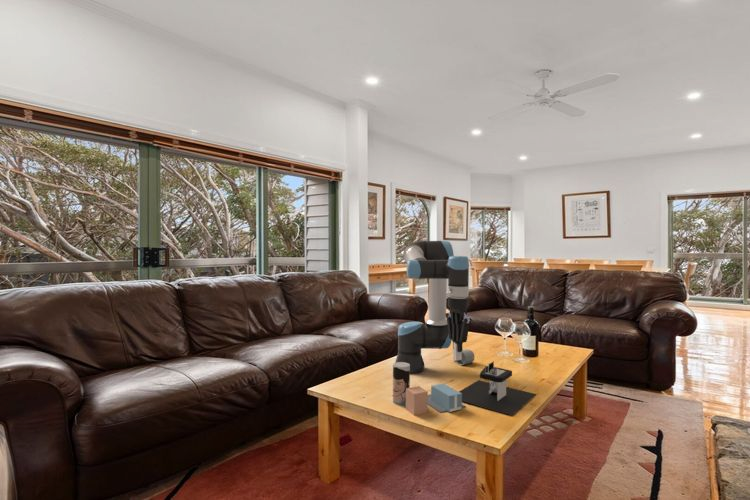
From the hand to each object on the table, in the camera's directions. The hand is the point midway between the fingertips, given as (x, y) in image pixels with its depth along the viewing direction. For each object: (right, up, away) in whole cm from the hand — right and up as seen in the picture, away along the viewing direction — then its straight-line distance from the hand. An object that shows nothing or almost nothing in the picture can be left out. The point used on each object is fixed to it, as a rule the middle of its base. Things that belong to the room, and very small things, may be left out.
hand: (457, 359), depth 152 cm
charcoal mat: (-5, -20, +10) cm, 23 cm away
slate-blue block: (0, -17, +1) cm, 17 cm away
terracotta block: (-15, -20, +2) cm, 25 cm away
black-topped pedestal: (+18, -20, +16) cm, 31 cm away
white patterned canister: (-20, -20, +11) cm, 30 cm away
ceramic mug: (+15, -19, +62) cm, 66 cm away
